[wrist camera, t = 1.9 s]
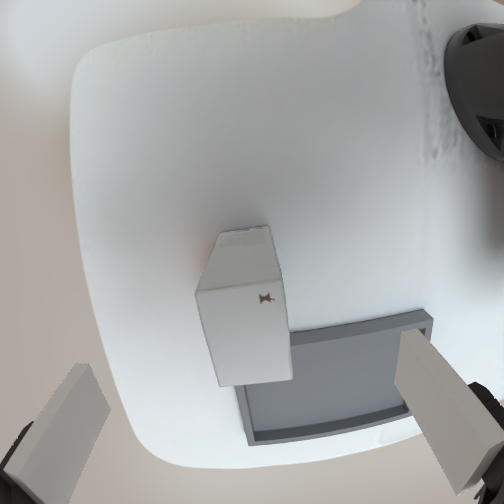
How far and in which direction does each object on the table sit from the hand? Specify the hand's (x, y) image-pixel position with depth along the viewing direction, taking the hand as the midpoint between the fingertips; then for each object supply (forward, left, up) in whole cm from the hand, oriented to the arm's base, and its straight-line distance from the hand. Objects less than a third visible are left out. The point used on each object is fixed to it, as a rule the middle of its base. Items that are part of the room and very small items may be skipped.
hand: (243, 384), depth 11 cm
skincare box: (0, 0, -16) cm, 16 cm away
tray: (-7, +14, -15) cm, 22 cm away
